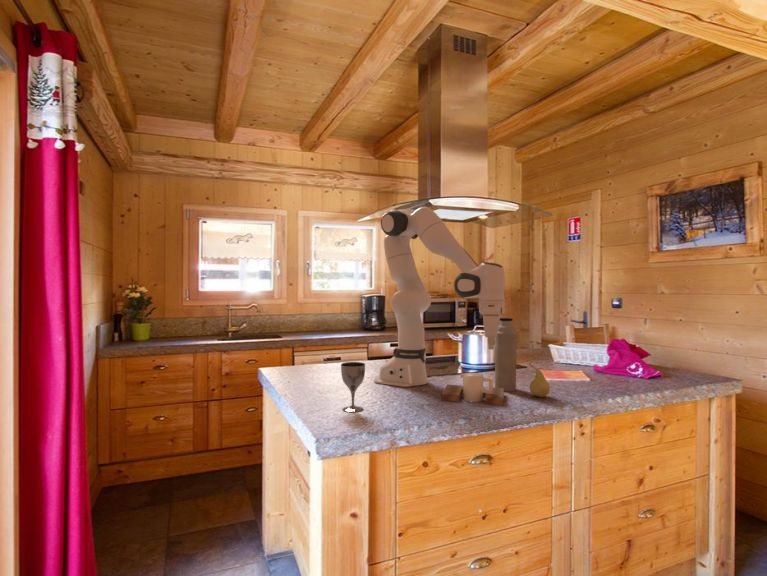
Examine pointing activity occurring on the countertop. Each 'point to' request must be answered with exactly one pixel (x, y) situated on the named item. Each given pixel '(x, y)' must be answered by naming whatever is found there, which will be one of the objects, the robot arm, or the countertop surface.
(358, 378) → the wine glass
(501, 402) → the brown wooden board
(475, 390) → the beige ceramic cup
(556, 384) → the countertop surface
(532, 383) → the fruit
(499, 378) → the thermos bottle
